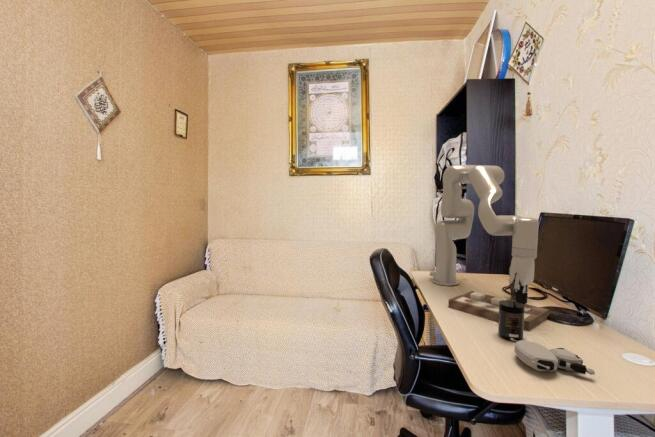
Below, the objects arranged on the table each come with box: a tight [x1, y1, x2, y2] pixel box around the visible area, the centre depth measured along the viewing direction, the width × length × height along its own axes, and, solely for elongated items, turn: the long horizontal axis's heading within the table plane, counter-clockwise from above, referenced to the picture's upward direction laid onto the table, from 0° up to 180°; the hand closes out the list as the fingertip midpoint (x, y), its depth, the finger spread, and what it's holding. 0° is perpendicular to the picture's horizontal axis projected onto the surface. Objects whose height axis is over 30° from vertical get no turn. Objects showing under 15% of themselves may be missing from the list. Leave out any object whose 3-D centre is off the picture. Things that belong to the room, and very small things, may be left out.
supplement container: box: [497, 299, 525, 342], centre depth 94 cm, size 7×7×10 cm
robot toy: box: [511, 338, 596, 376], centre depth 78 cm, size 12×4×15 cm
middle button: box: [491, 296, 508, 305], centre depth 116 cm, size 4×4×2 cm
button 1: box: [470, 291, 486, 301], centre depth 122 cm, size 4×4×2 cm
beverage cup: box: [507, 265, 516, 301], centre depth 129 cm, size 7×7×20 cm
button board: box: [448, 290, 550, 332], centre depth 115 cm, size 28×18×3 cm, turn 38°
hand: (521, 302), depth 110 cm, fingers closed
